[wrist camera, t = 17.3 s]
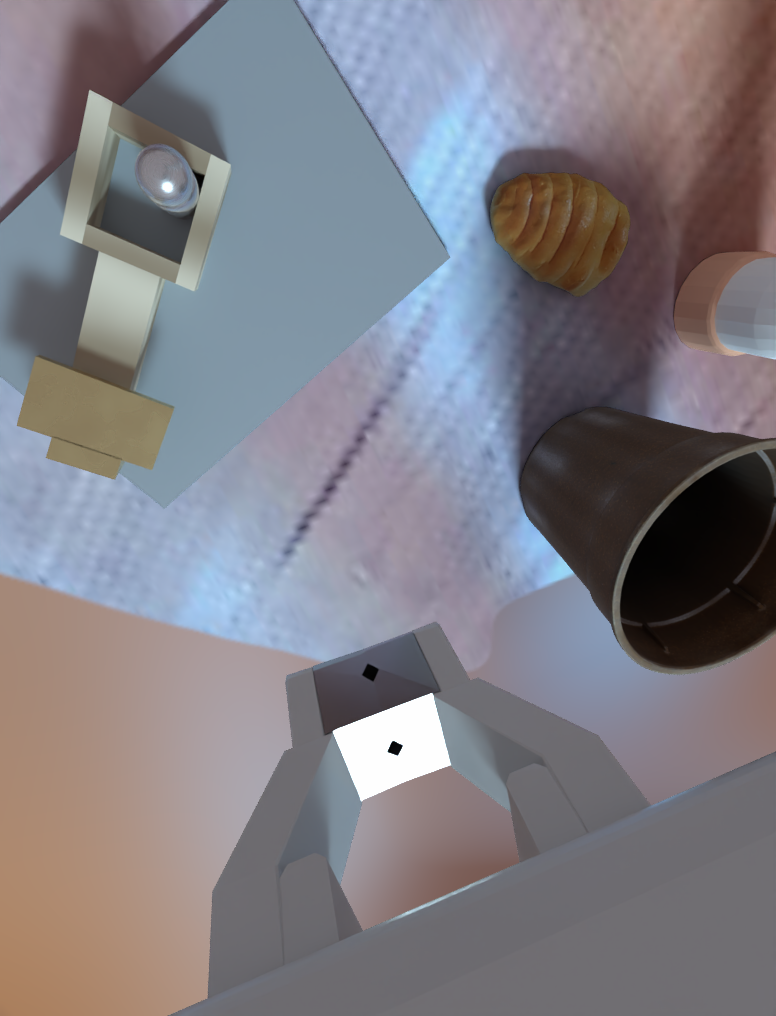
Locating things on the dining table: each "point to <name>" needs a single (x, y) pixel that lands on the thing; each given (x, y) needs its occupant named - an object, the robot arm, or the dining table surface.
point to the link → (130, 242)
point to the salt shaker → (730, 305)
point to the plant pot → (662, 532)
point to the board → (232, 239)
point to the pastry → (560, 228)
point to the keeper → (92, 419)
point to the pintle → (167, 180)
